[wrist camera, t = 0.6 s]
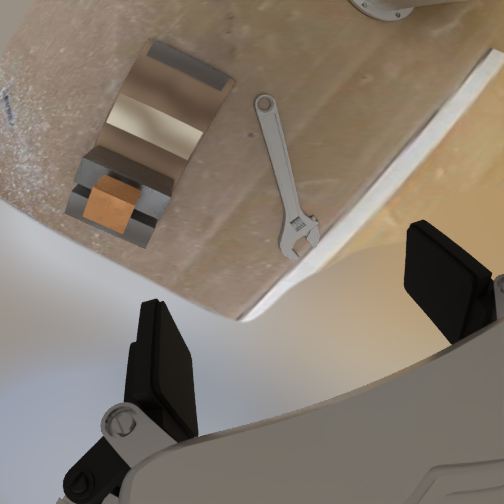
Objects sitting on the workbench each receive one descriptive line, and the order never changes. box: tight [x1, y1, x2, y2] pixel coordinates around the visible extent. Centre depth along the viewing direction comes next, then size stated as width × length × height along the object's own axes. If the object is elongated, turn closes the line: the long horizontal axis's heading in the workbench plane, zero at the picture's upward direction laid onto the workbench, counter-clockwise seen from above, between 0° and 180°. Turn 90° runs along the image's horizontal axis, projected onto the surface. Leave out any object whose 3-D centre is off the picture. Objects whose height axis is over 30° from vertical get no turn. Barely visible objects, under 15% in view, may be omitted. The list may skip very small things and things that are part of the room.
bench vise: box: [65, 39, 236, 249], centre depth 35 cm, size 22×12×8 cm, turn 149°
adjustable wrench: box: [254, 94, 319, 260], centre depth 44 cm, size 25×6×2 cm, turn 11°
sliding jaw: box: [74, 146, 174, 234], centre depth 33 cm, size 3×11×12 cm, turn 59°
